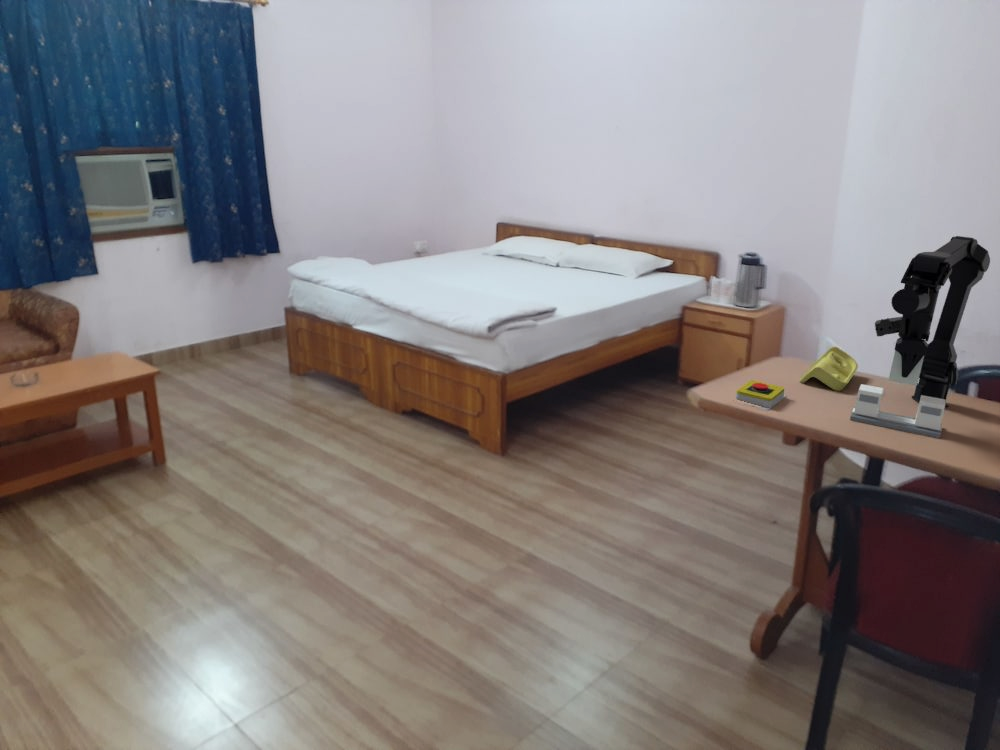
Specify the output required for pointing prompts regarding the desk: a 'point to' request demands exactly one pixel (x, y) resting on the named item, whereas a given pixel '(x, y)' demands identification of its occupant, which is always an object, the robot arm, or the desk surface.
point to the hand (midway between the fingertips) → (904, 374)
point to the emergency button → (760, 394)
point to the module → (897, 371)
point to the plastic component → (833, 369)
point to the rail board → (922, 424)
